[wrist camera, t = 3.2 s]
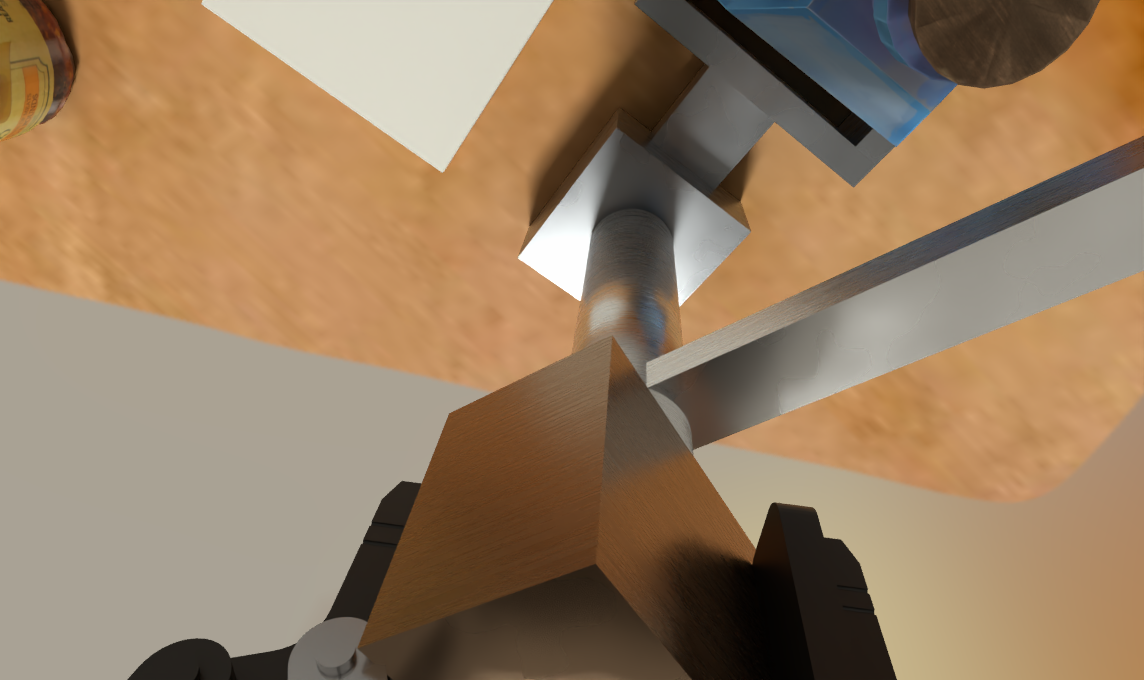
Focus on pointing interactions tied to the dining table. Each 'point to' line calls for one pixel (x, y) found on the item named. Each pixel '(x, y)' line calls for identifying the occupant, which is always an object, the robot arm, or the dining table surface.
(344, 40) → the pad
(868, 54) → the perfume bottle
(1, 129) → the sauce bottle
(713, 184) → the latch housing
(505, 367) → the dining table surface
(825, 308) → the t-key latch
